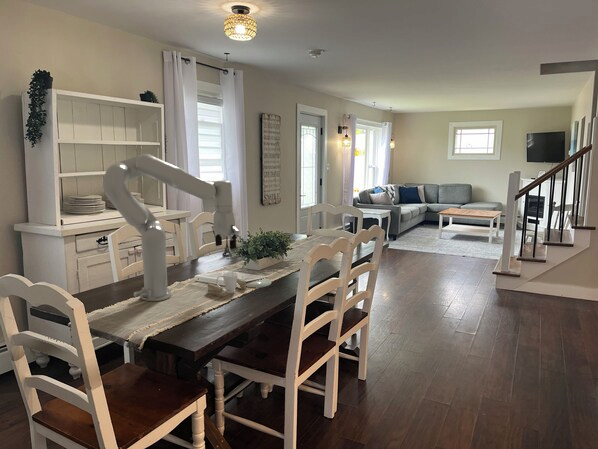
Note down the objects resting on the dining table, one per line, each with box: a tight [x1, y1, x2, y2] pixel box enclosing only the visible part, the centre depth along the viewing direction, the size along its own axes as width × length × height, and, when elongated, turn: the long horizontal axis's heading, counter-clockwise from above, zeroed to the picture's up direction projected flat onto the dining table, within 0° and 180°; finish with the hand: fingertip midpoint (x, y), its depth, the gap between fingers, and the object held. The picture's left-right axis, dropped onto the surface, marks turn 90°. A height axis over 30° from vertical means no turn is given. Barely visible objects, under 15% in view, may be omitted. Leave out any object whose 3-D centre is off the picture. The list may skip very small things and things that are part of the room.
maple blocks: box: [207, 277, 247, 298], centre depth 204 cm, size 15×9×4 cm, turn 138°
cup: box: [216, 271, 238, 294], centre depth 204 cm, size 7×10×8 cm
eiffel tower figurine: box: [221, 236, 237, 260], centre depth 267 cm, size 15×10×13 cm
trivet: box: [246, 277, 272, 289], centre depth 216 cm, size 14×14×1 cm
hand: (225, 246), depth 202 cm, fingers open, 9 cm apart
